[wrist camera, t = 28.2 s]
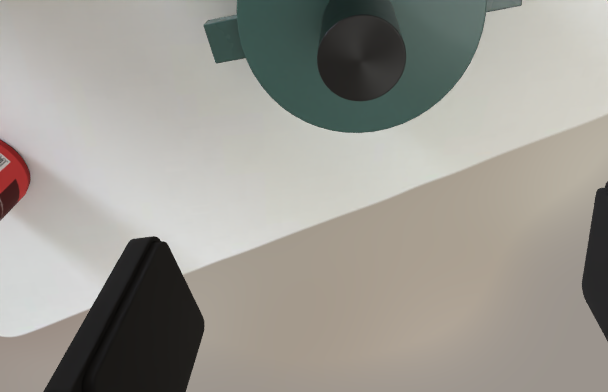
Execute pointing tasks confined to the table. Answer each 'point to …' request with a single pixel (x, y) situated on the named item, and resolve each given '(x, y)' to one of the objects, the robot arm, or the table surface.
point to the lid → (359, 56)
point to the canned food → (11, 178)
